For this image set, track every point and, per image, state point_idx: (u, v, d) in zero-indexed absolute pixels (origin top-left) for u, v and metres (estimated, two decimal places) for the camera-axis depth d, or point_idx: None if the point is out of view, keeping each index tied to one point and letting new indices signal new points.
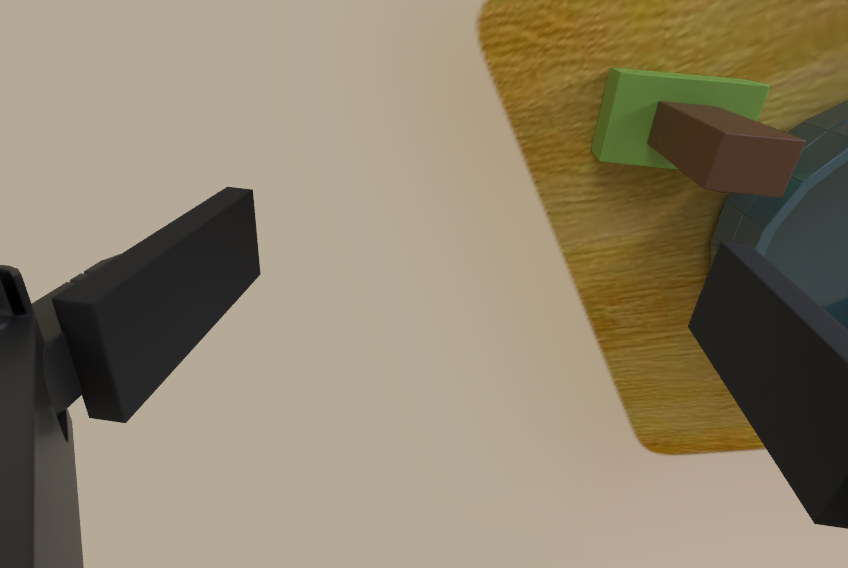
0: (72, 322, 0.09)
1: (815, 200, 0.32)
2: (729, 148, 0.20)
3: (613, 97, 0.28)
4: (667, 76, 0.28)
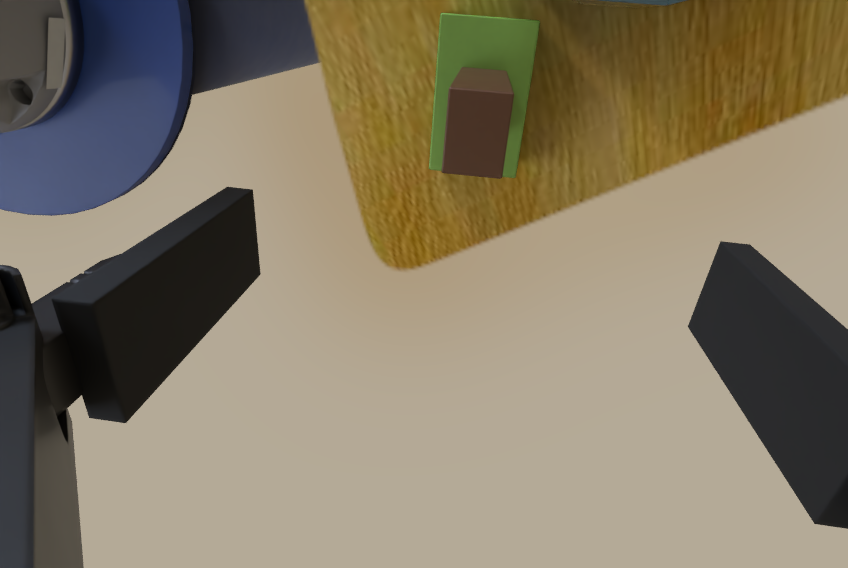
0: (72, 322, 0.09)
1: None
2: (457, 164, 0.20)
3: None
4: (433, 123, 0.28)
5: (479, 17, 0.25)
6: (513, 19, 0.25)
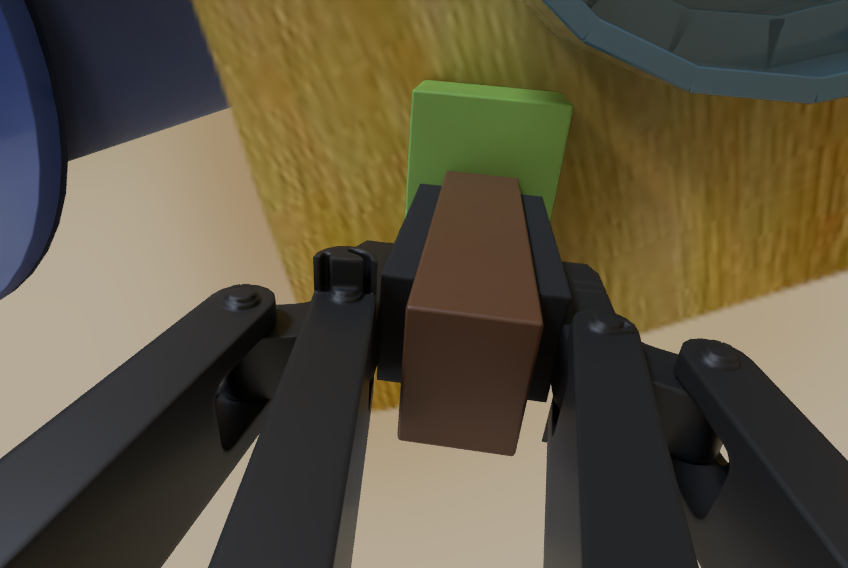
0: (392, 295, 0.10)
1: None
2: (427, 430, 0.10)
3: None
4: None
5: (475, 97, 0.15)
6: (530, 101, 0.15)
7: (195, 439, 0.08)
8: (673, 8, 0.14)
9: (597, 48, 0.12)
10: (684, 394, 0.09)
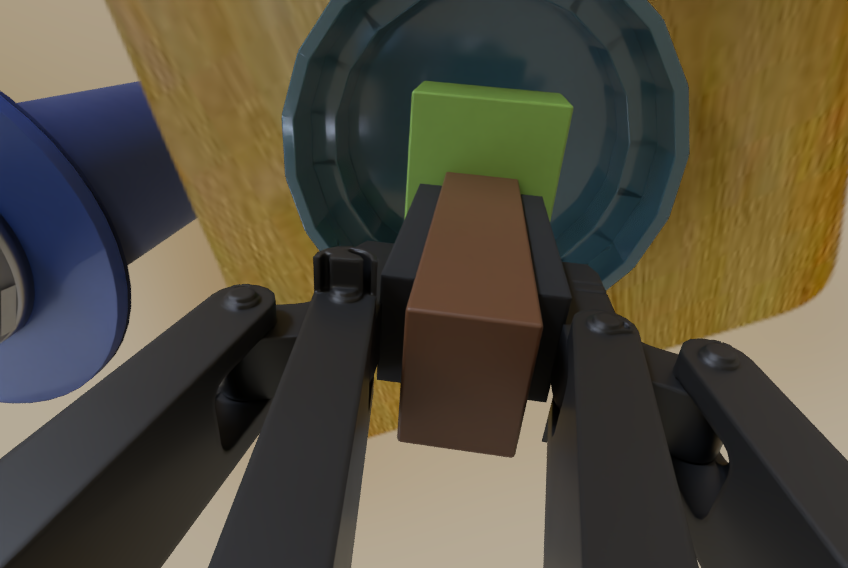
0: (392, 295, 0.10)
1: None
2: (427, 432, 0.10)
3: None
4: None
5: (474, 98, 0.15)
6: (530, 103, 0.15)
7: (195, 439, 0.08)
8: None
9: None
10: (684, 394, 0.09)
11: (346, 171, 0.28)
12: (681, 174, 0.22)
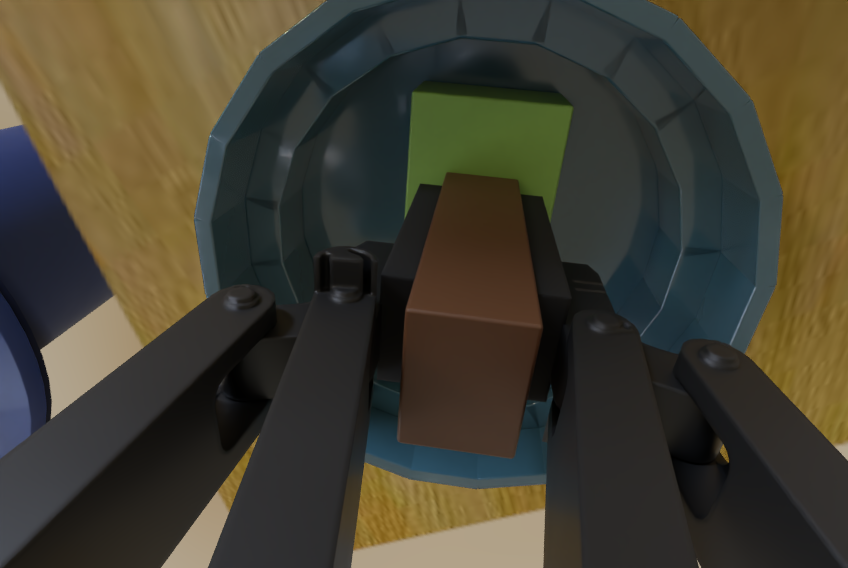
0: (392, 295, 0.10)
1: None
2: (426, 433, 0.10)
3: None
4: None
5: (475, 99, 0.15)
6: (530, 103, 0.15)
7: (195, 439, 0.08)
8: None
9: None
10: (684, 394, 0.09)
11: (299, 269, 0.21)
12: (762, 310, 0.15)
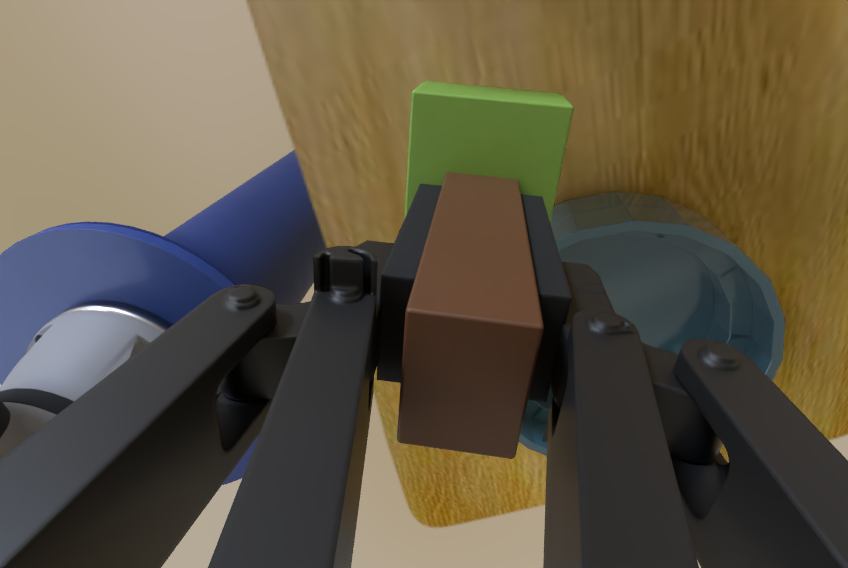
0: (392, 295, 0.10)
1: None
2: (427, 433, 0.10)
3: None
4: None
5: (475, 99, 0.15)
6: (530, 103, 0.15)
7: (195, 439, 0.08)
8: None
9: (534, 450, 0.35)
10: (684, 394, 0.09)
11: None
12: (775, 372, 0.30)
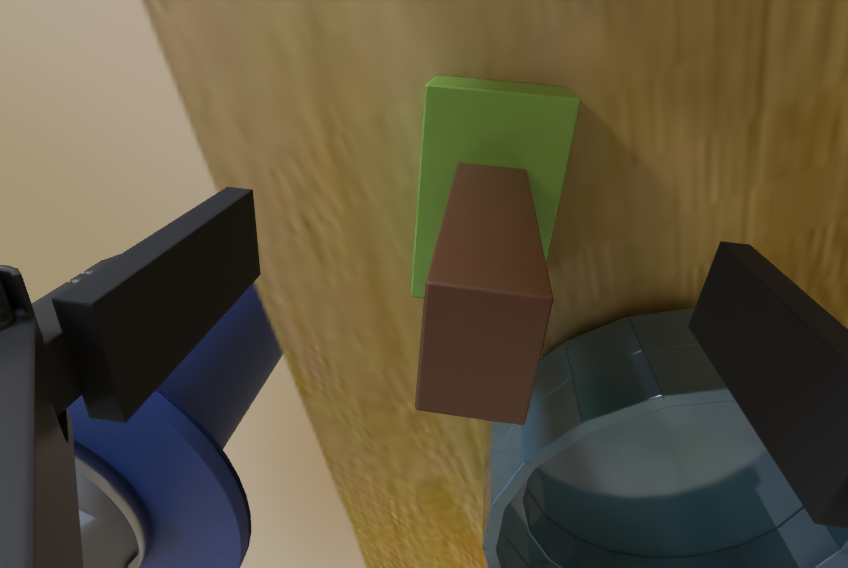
0: (72, 322, 0.09)
1: (610, 508, 0.27)
2: (443, 400, 0.11)
3: None
4: (415, 236, 0.19)
5: (485, 91, 0.16)
6: (538, 95, 0.16)
7: None
8: None
9: None
10: None
11: (524, 494, 0.25)
12: None
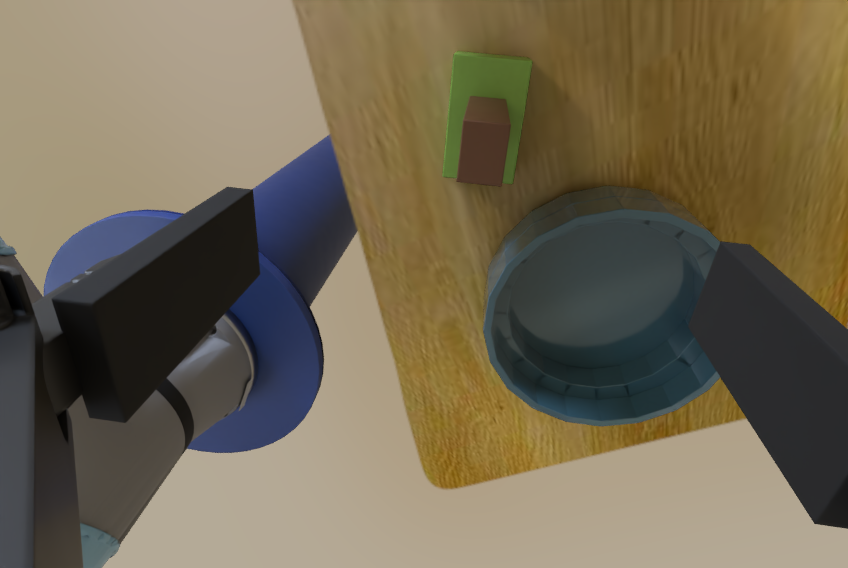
0: (72, 322, 0.09)
1: (563, 331, 0.43)
2: (468, 175, 0.26)
3: None
4: (446, 140, 0.34)
5: (484, 57, 0.32)
6: (511, 59, 0.32)
7: None
8: (564, 383, 0.42)
9: None
10: None
11: (508, 314, 0.41)
12: None
